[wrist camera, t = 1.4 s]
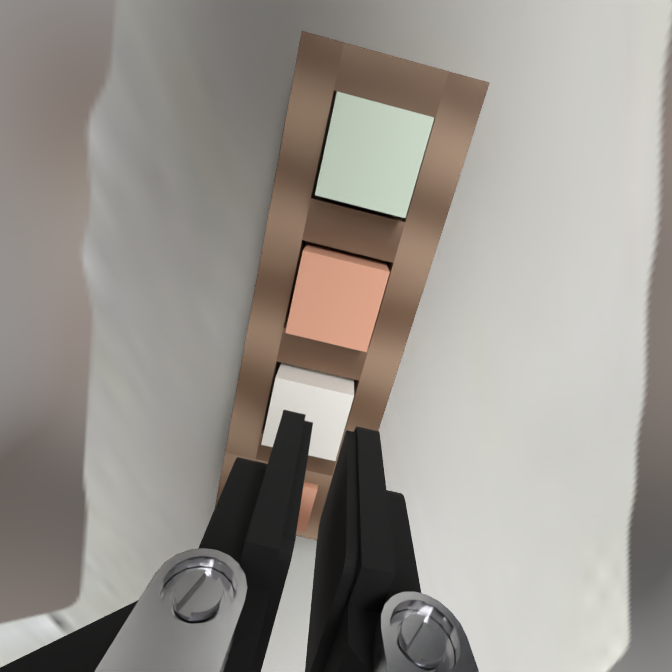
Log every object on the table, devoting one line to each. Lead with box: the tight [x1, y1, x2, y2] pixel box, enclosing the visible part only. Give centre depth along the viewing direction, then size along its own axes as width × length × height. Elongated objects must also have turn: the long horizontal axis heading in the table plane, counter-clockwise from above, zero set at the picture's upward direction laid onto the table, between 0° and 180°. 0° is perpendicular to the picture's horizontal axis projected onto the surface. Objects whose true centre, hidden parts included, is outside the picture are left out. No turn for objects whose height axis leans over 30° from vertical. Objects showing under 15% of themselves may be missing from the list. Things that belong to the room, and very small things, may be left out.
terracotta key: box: [285, 243, 390, 352], centre depth 26 cm, size 5×5×3 cm
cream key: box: [261, 362, 354, 461], centre depth 29 cm, size 5×5×3 cm
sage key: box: [315, 91, 434, 218], centre depth 24 cm, size 5×5×3 cm
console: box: [215, 31, 489, 540], centre depth 29 cm, size 32×10×4 cm, turn 166°
